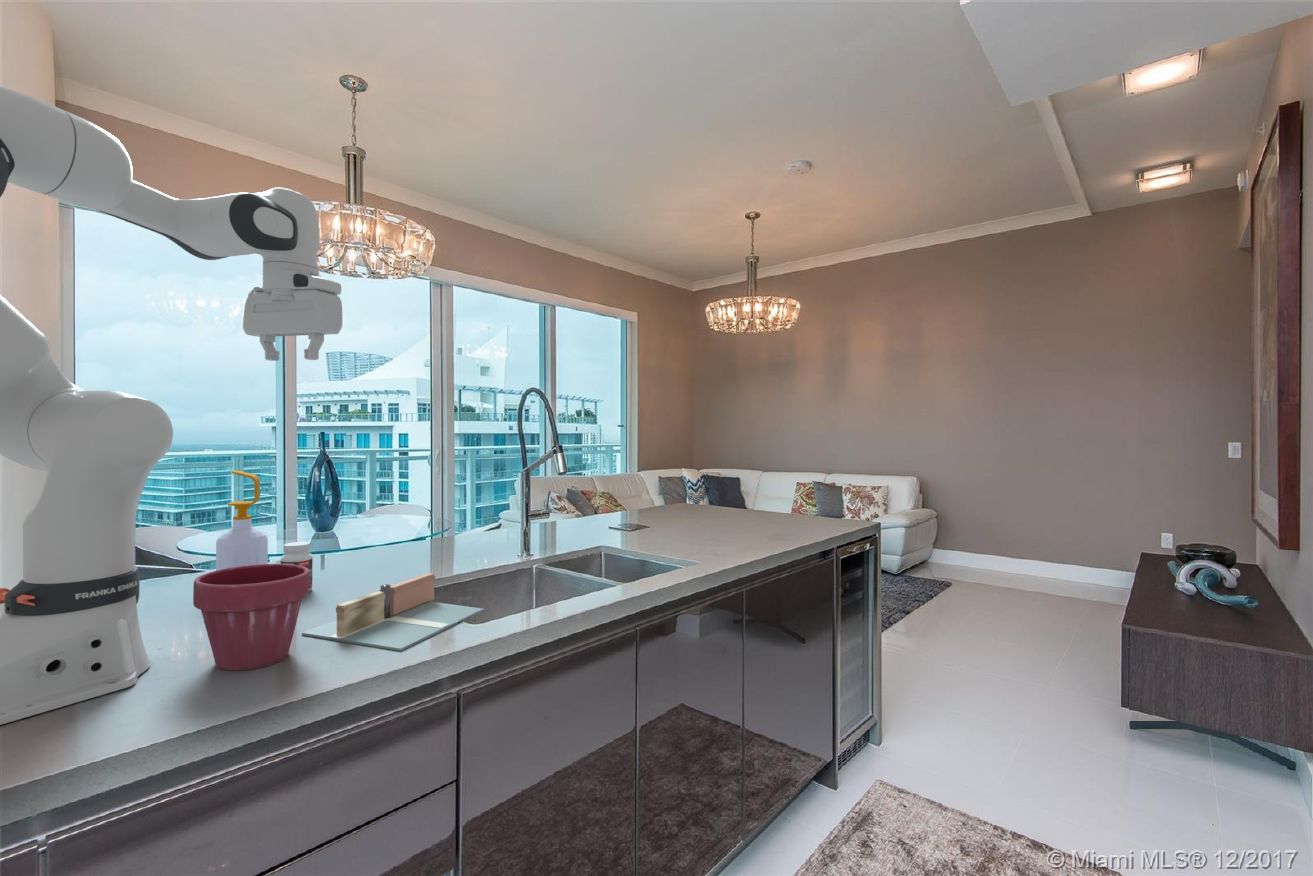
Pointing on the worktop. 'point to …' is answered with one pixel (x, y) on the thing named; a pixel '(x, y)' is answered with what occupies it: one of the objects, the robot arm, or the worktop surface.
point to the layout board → (401, 626)
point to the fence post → (386, 600)
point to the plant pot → (251, 612)
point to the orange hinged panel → (411, 593)
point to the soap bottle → (242, 536)
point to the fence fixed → (360, 613)
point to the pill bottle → (298, 556)
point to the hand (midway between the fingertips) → (291, 360)
